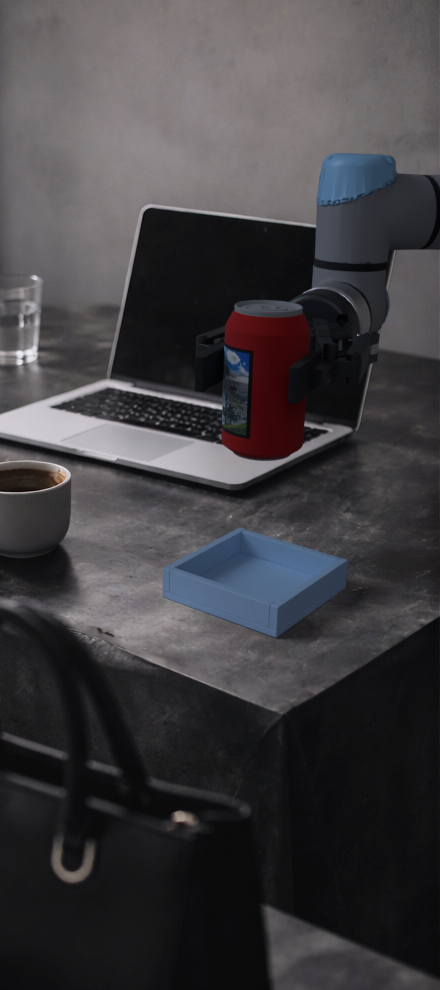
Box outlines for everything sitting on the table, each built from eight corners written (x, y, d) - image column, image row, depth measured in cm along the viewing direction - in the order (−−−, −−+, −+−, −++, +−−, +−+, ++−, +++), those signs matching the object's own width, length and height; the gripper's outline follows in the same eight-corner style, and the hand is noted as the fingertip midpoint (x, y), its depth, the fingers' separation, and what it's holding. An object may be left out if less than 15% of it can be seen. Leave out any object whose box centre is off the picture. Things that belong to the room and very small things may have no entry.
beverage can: (222, 437, 84) (226, 297, 80) (301, 440, 84) (309, 300, 79) (219, 463, 78) (224, 311, 73) (304, 466, 77) (314, 315, 73)
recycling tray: (345, 588, 82) (348, 559, 81) (276, 638, 73) (277, 607, 72) (238, 554, 87) (239, 527, 87) (162, 597, 79) (162, 568, 78)
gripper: (421, 377, 92) (370, 444, 72) (225, 355, 98) (126, 412, 78) (430, 296, 89) (379, 343, 69) (227, 279, 96) (126, 318, 75)
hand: (245, 379), depth 74 cm, fingers closed on beverage can, 7 cm apart
